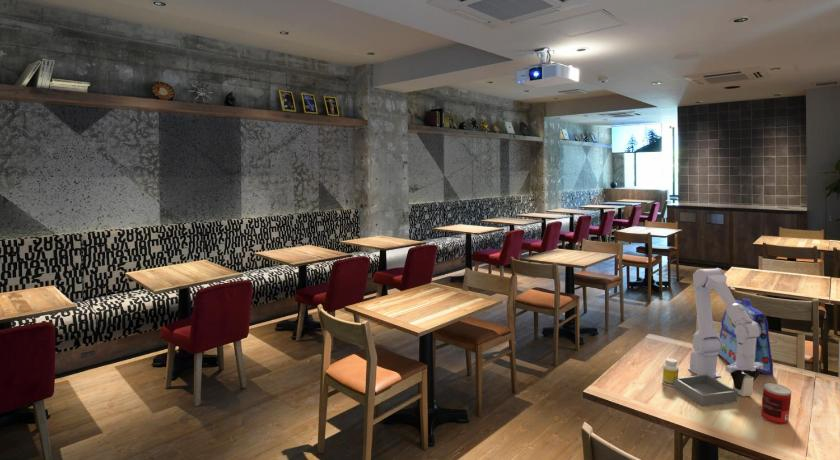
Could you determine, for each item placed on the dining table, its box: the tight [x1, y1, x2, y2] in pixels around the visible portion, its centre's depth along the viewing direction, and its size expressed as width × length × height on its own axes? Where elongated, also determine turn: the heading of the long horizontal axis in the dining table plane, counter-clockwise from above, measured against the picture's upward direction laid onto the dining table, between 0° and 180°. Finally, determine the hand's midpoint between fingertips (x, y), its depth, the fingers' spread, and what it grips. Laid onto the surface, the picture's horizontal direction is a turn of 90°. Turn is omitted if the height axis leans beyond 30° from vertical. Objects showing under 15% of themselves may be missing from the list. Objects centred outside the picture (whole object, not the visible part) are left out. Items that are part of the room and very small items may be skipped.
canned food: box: [760, 382, 792, 425], centre depth 165 cm, size 8×8×11 cm
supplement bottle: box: [661, 357, 680, 387], centre depth 192 cm, size 5×5×10 cm
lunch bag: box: [718, 298, 774, 376], centre depth 208 cm, size 22×14×29 cm, turn 172°
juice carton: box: [732, 372, 754, 397], centre depth 182 cm, size 5×4×8 cm
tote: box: [673, 374, 738, 407], centre depth 183 cm, size 15×15×4 cm
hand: (742, 388), depth 183 cm, fingers closed on juice carton, 4 cm apart
